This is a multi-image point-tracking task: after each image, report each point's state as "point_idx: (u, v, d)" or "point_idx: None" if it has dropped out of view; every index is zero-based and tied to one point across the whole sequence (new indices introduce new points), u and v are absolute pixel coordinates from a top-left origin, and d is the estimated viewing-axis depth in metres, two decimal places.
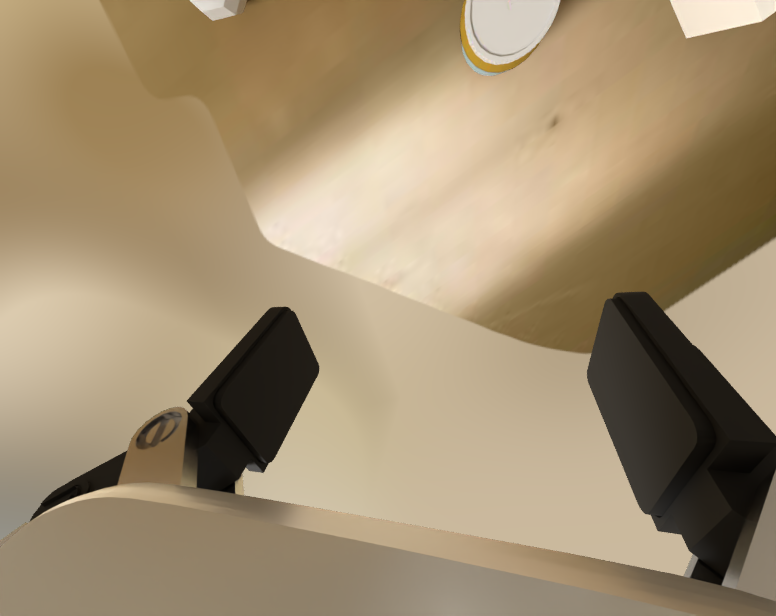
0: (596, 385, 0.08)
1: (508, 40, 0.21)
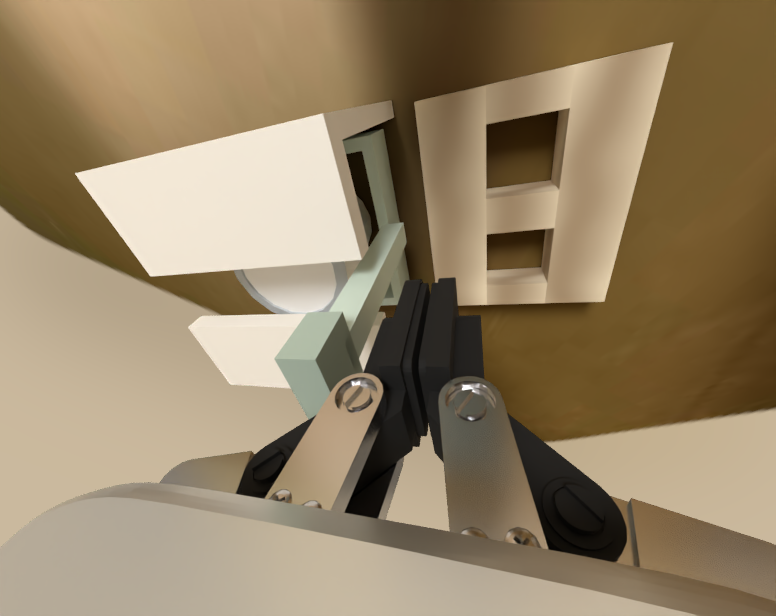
0: None
1: None
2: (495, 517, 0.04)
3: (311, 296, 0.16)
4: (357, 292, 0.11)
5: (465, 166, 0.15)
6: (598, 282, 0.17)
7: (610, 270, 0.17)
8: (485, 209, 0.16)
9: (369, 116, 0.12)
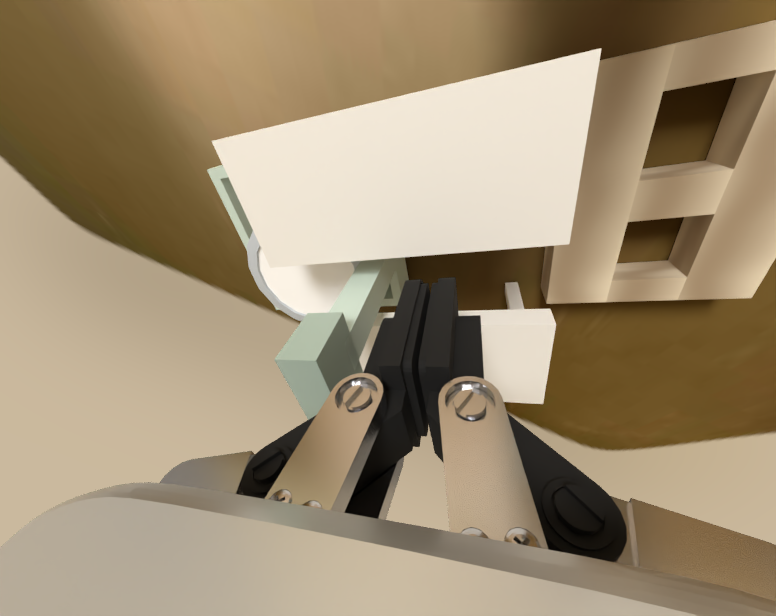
0: None
1: None
2: (495, 518, 0.04)
3: (333, 300, 0.16)
4: (357, 293, 0.11)
5: (623, 142, 0.13)
6: (751, 276, 0.15)
7: (770, 262, 0.15)
8: (634, 193, 0.14)
9: None
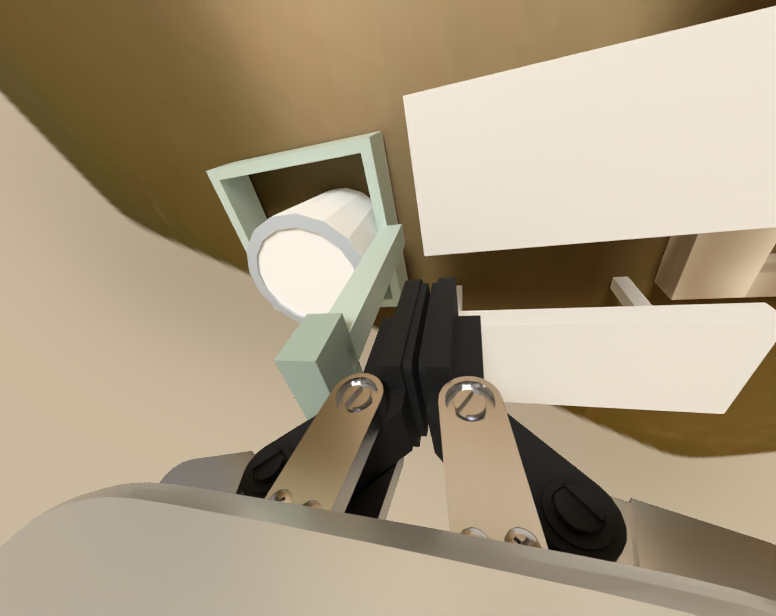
0: None
1: None
2: (495, 518, 0.04)
3: (334, 301, 0.16)
4: (356, 293, 0.11)
5: None
6: None
7: None
8: None
9: None
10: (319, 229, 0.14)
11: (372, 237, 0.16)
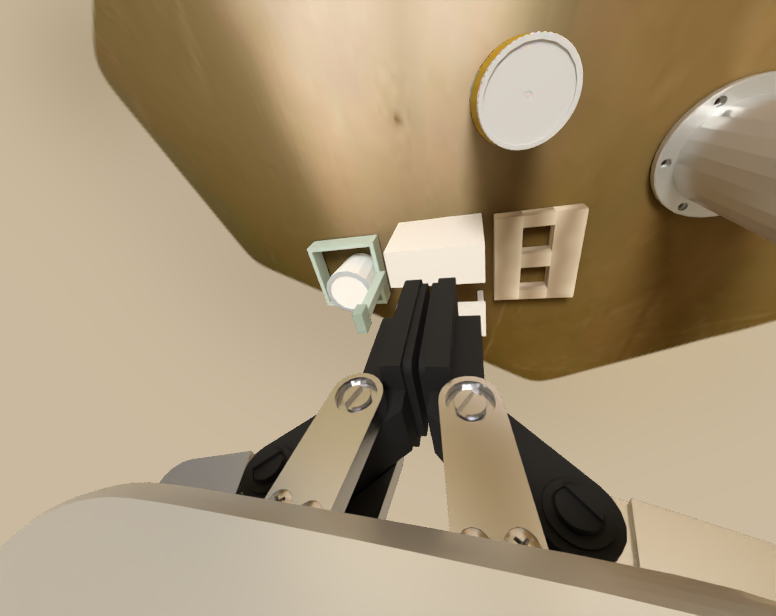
0: None
1: (503, 79, 0.19)
2: (496, 518, 0.04)
3: (359, 301, 0.42)
4: (369, 298, 0.37)
5: (513, 241, 0.37)
6: (569, 288, 0.39)
7: (574, 283, 0.39)
8: (520, 258, 0.38)
9: None
10: (355, 276, 0.39)
11: (373, 276, 0.42)
